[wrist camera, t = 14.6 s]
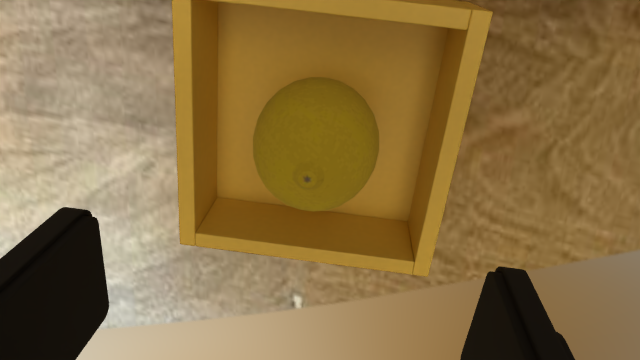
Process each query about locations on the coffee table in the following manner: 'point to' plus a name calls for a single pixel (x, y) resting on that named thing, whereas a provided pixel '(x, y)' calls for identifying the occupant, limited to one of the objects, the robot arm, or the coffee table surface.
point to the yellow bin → (353, 70)
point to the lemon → (315, 144)
